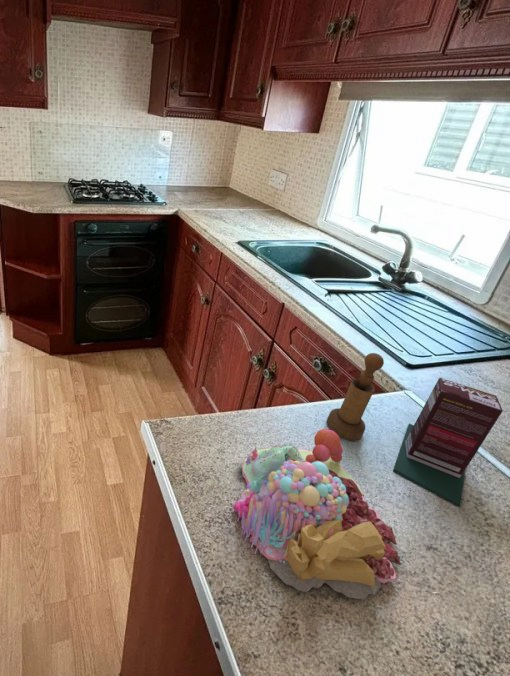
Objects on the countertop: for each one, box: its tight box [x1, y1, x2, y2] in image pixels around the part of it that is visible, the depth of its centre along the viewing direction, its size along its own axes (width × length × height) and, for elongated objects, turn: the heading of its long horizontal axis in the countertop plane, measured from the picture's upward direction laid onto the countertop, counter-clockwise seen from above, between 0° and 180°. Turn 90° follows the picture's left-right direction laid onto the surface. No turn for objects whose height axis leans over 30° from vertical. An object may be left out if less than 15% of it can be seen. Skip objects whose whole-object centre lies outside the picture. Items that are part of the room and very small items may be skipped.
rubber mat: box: [392, 423, 466, 508], centre depth 75 cm, size 16×10×1 cm, turn 139°
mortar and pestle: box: [326, 352, 385, 442], centre depth 77 cm, size 7×6×18 cm
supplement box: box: [405, 377, 504, 478], centre depth 72 cm, size 9×5×16 cm, turn 61°
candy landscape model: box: [233, 428, 401, 601], centre depth 61 cm, size 25×24×9 cm
